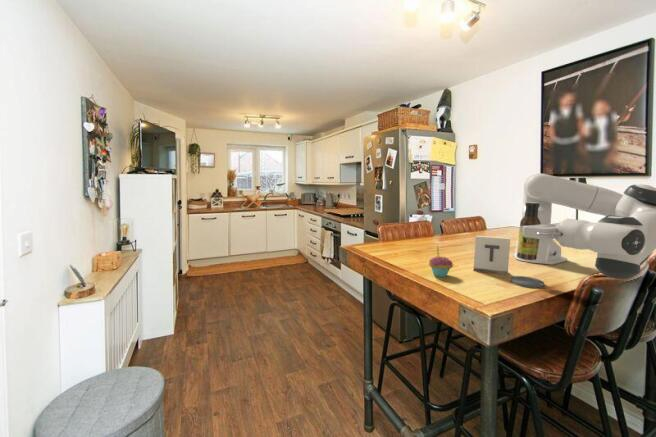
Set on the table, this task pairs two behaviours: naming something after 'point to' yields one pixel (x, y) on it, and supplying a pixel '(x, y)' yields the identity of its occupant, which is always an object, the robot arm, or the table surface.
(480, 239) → the letter plaque
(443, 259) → the cupcake
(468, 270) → the table surface
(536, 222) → the sauce bottle
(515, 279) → the slate mat
